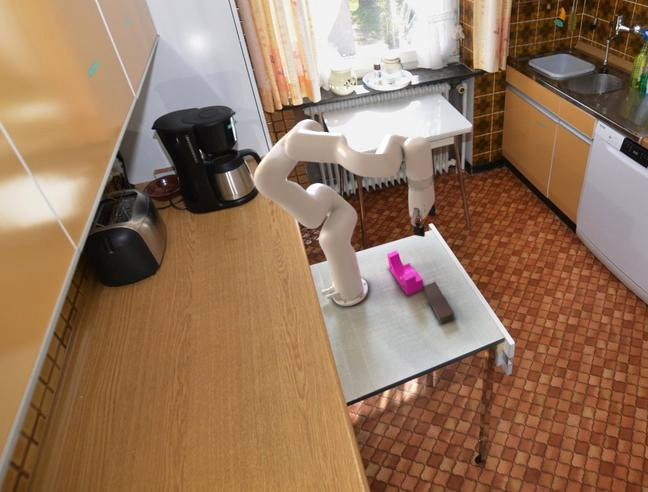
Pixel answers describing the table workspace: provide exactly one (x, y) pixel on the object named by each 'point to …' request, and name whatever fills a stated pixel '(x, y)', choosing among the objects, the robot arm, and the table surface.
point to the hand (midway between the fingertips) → (425, 225)
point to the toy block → (404, 274)
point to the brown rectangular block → (438, 302)
